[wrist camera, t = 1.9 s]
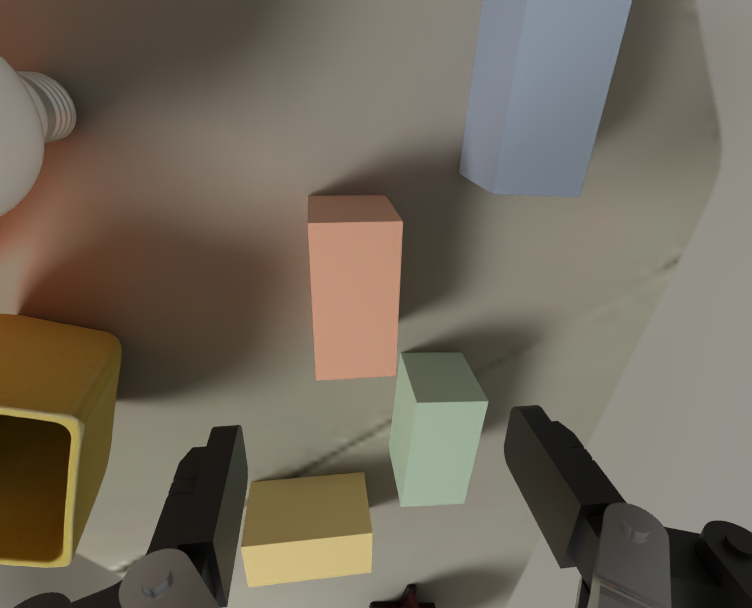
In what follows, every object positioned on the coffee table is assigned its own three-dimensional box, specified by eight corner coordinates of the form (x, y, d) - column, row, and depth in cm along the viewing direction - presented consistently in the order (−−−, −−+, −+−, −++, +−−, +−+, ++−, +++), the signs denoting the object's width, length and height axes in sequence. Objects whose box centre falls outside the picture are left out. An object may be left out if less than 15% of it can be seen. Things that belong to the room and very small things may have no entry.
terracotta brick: (308, 195, 22) (307, 223, 18) (385, 194, 23) (403, 221, 19) (314, 330, 26) (316, 380, 22) (381, 326, 27) (395, 375, 22)
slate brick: (483, -13, 19) (534, -41, 15) (567, -4, 20) (639, -29, 16) (457, 172, 23) (492, 194, 19) (529, 175, 24) (579, 197, 19)
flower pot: (-30, 269, 22) (-225, 376, 14) (157, 309, 24) (81, 421, 16) (-23, 405, 25) (-177, 554, 17) (140, 429, 27) (70, 570, 20)
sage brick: (400, 351, 28) (416, 402, 23) (460, 351, 28) (488, 401, 24) (388, 446, 31) (401, 507, 27) (442, 444, 32) (463, 503, 27)
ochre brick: (256, 518, 33) (248, 587, 28) (250, 480, 31) (240, 547, 26) (363, 508, 34) (371, 572, 29) (363, 470, 32) (372, 533, 27)
